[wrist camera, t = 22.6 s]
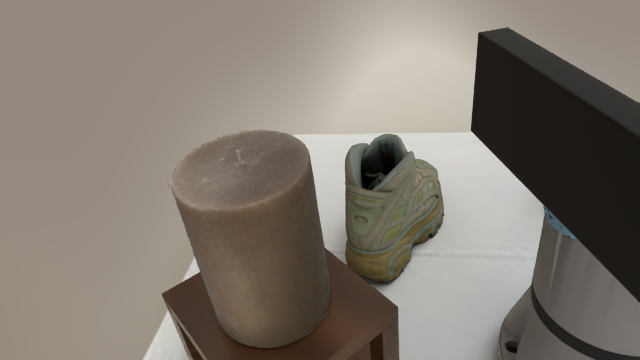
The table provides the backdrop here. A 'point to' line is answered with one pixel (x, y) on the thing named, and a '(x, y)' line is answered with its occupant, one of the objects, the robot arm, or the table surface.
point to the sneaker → (388, 206)
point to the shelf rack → (309, 352)
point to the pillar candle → (256, 235)
